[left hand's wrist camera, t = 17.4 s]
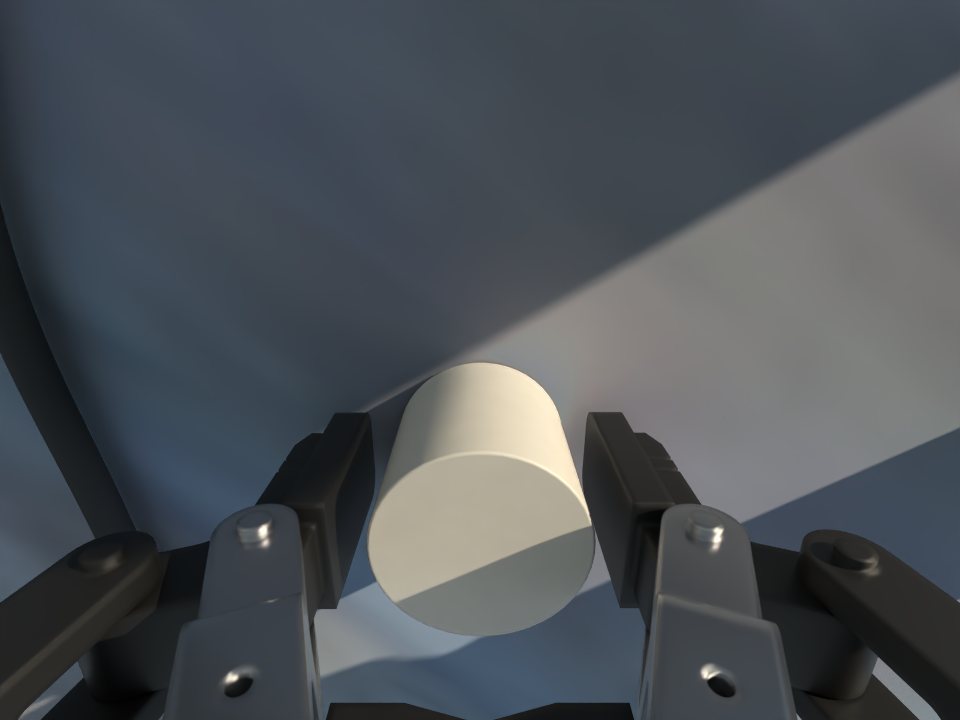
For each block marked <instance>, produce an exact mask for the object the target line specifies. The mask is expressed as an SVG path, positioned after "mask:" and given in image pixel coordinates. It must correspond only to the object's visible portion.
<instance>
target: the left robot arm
mask: <svg viewBox="0 0 960 720" xmlns="http://www.w3.org/2000/svg"><path fill="white" fill-rule="evenodd" d="M0 353H1V355H2V357H3V359H4V362H5V364H6V366H7V368H8V370H9V372H10V374H11V376H12V378H13V380H14V382H15V384H16V386H17V388H18V390H19V392H20V394H21V396H22V398H23V400H24V402H25V404H26V406H27V408H28V410H29V412H30V414H31V416H32V417H33V419H34V421H35V423H36V425H37V427H38V429H39V431H40V433H41V435H42V436H43V438H44V440H45V442H46V444H47V446H48V448H49V450H50V452H51V453H52V455H53V457H54V459H55V461H56V463H57V465H58V467H59V468H60V470H61V472H62V474H63V476H64V478H65V480H66V482H67V484H68V486H69V487H70V489H71V491H72V493H73V495H74V497H75V499H76V501H77V503H78V505H79V507H80V509H81V511H82V513H83V515H84V517H85V519H86V521H87V523H88V525H89V527H90V529H91V531H92V533H93V535H94V537H95V539H94V540H92V541H90V542H88V543H86V544H84V545H82V546H80V547H78V548H76V549H75V550H73V551H72V552H70V553H69V554H67V555H66V556H65V557H63V558H62V559H60V560H59V561H58V562H56V563H55V564H53V565H52V566H51V567H49V568H48V569H47V570H45V571H44V572H42V573H41V574H40V575H38V576H37V577H35V578H34V579H33V580H31V581H30V582H28V583H27V584H26V585H24V586H23V587H22V588H20V589H19V590H17V591H16V592H15V593H13V594H12V595H10V596H9V597H8V598H6V599H5V600H4V601H2V602H1V603H0V720H18V718H19V717H20V716H21V715H22V713H23V712H24V711H25V710H26V709H27V708H28V707H29V706H30V705H31V704H32V703H33V702H34V701H35V700H36V699H37V698H38V697H39V696H40V695H41V694H42V693H44V692H45V691H46V690H47V689H48V688H49V687H50V686H51V685H52V684H53V683H54V682H55V681H56V680H57V679H58V678H60V677H61V676H62V675H63V674H64V673H65V672H66V671H67V670H68V669H69V668H70V667H71V666H72V665H73V664H74V663H76V662H77V661H78V663H79V666H80V668H81V671H82V674H83V676H84V678H83V679H82V680H81V681H80V682H79V683H78V684H77V685H76V686H75V687H74V688H73V689H71V690H70V691H69V692H68V693H67V694H66V695H65V696H64V697H63V698H62V699H61V700H60V701H59V702H58V703H57V704H56V705H55V706H54V707H53V708H52V709H51V710H50V711H49V712H48V713H47V714H46V715H45V716H44V717H43V718H42V719H41V720H158V719H159V718H160V717H161V716H162V714H163V713H164V715H163V720H324V712H323V701H322V691H321V680H320V670H319V660H318V649H317V639H316V631H315V625H314V616H315V614H316V611H317V609H337V605H338V602H339V599H340V596H341V593H342V590H343V587H344V584H345V581H346V578H347V575H348V572H349V569H350V566H351V563H352V559H353V556H354V553H355V550H356V547H357V544H358V541H359V538H360V535H361V532H362V529H363V526H364V523H365V520H366V517H367V513H368V510H369V507H370V504H371V501H372V498H373V494H374V487H375V465H374V453H373V441H372V430H371V420H370V416H369V414H368V413H335V414H334V416H333V418H332V419H331V421H330V423H329V424H328V426H327V428H326V429H325V431H324V433H312V434H310V435H309V436H307V437H306V438H304V439H303V440H302V441H300V442H299V443H297V444H296V445H295V446H294V447H293V449H292V450H291V452H290V453H289V455H288V456H287V458H286V461H284V462H283V464H282V465H281V467H280V468H279V472H277V473H276V474H275V476H274V477H273V479H272V480H271V482H270V483H269V485H268V486H267V488H266V489H265V491H264V492H263V494H262V495H261V497H260V498H259V500H258V501H257V503H256V504H255V506H252V507H248V508H245V509H242V510H240V511H238V512H236V513H234V514H232V515H230V516H229V517H227V518H226V519H224V520H223V521H222V522H221V523H220V524H219V525H218V526H217V527H216V528H215V530H214V531H213V533H212V536H211V539H210V541H208V542H205V543H201V544H197V545H193V546H189V547H184V548H179V549H174V550H170V551H165V552H160V553H158V550H157V546H156V543H155V540H154V538H153V537H152V536H151V535H149V534H147V533H144V532H139V531H136V529H135V527H134V524H133V522H132V520H131V518H130V516H129V514H128V511H127V509H126V507H125V505H124V503H123V500H122V498H121V496H120V494H119V492H118V490H117V488H116V486H115V484H114V482H113V480H112V477H111V475H110V473H109V471H108V469H107V467H106V465H105V463H104V461H103V459H102V457H101V455H100V453H99V451H98V449H97V447H96V445H95V443H94V441H93V439H92V437H91V435H90V433H89V431H88V428H87V426H86V424H85V422H84V420H83V418H82V416H81V414H80V412H79V410H78V408H77V406H76V404H75V402H74V400H73V398H72V396H71V393H70V391H69V389H68V387H67V385H66V383H65V381H64V379H63V376H62V374H61V372H60V370H59V368H58V365H57V363H56V361H55V359H54V356H53V354H52V352H51V350H50V347H49V345H48V343H47V340H46V338H45V335H44V333H43V331H42V328H41V326H40V323H39V321H38V318H37V316H36V313H35V311H34V308H33V305H32V303H31V300H30V297H29V295H28V292H27V289H26V286H25V283H24V281H23V278H22V275H21V272H20V269H19V266H18V263H17V260H16V257H15V254H14V250H13V247H12V244H11V240H10V237H9V234H8V230H7V227H6V224H5V220H4V216H3V212H2V208H1V205H0ZM582 479H583V490H584V496H585V499H586V502H587V506H588V509H589V512H590V515H591V518H592V521H593V524H594V528H595V531H596V534H597V537H598V540H599V543H600V546H601V549H602V553H603V556H604V559H605V562H606V565H607V568H608V571H609V575H610V578H611V581H612V584H613V587H614V590H615V593H616V597H617V600H618V603H619V606H620V608H639V609H640V612H641V615H642V618H643V620H644V623H645V631H644V639H643V649H642V660H641V670H640V680H639V691H638V701H637V712H636V720H797V715H796V713H797V714H798V716H799V717H800V718H801V719H802V720H919V719H918V718H917V717H916V716H915V715H914V714H913V713H912V712H911V711H910V710H909V709H908V708H907V707H906V706H905V705H904V704H903V703H902V702H901V701H900V700H899V699H898V698H897V697H896V696H895V695H894V694H893V693H892V692H891V691H890V690H888V689H887V688H886V687H885V686H884V685H883V684H882V683H881V682H880V681H879V680H878V679H877V678H876V677H875V676H874V675H873V674H872V672H873V669H874V667H875V664H876V661H877V659H878V657H879V658H880V659H881V660H882V661H883V662H884V663H885V664H887V665H888V666H889V667H890V668H891V669H892V670H893V671H894V672H895V673H896V674H897V675H898V676H899V677H900V678H901V679H903V680H904V681H905V682H906V683H907V684H908V685H909V686H910V687H911V688H912V689H913V690H914V691H915V692H916V693H917V694H919V695H920V696H921V697H922V698H923V699H924V700H925V701H926V702H927V703H928V704H929V705H930V706H931V707H932V708H933V709H934V711H935V712H936V713H937V714H938V716H939V717H940V719H941V720H960V603H959V602H958V601H956V600H955V599H954V598H952V597H951V596H950V595H948V594H947V593H945V592H944V591H943V590H941V589H940V588H938V587H937V586H936V585H934V584H933V583H932V582H930V581H929V580H927V579H926V578H925V577H923V576H922V575H920V574H919V573H918V572H916V571H915V570H913V569H912V568H911V567H909V566H908V565H907V564H905V563H904V562H902V561H901V560H900V559H898V558H897V557H895V556H894V555H893V554H891V553H890V552H888V551H887V550H885V549H884V548H882V547H881V546H879V545H877V544H875V543H873V542H871V541H869V540H867V539H865V538H862V537H860V536H857V535H854V534H850V533H847V532H842V531H837V530H816V531H813V532H810V533H808V534H807V535H806V536H805V537H804V539H803V542H802V545H801V549H800V552H795V551H790V550H786V549H781V548H776V547H772V546H767V545H762V544H758V543H754V542H751V541H750V539H749V536H748V533H747V531H746V530H745V528H744V527H743V526H742V525H741V524H740V523H739V522H738V521H737V520H736V519H734V518H733V517H731V516H730V515H728V514H726V513H724V512H722V511H720V510H718V509H715V508H712V507H708V506H704V505H701V503H700V502H699V500H698V499H697V497H696V496H695V494H694V493H693V491H692V489H691V488H690V486H689V485H688V483H687V482H686V480H685V479H684V477H683V476H682V474H681V473H680V472H678V468H677V467H676V465H675V464H674V462H673V461H672V460H671V459H670V456H669V455H668V453H667V452H666V450H665V448H664V447H663V445H662V444H661V443H659V442H658V441H656V440H655V439H653V438H652V437H650V436H649V435H648V434H646V433H634V432H633V431H632V429H631V427H630V425H629V424H628V422H627V420H626V418H625V417H624V415H623V414H622V413H621V412H590V413H589V414H588V417H587V423H586V434H585V446H584V458H583V471H582ZM326 720H465V719H461V718H457V717H454V716H450V715H446V714H443V713H439V712H435V711H432V710H428V709H424V708H421V707H417V706H414V705H410V704H406V703H330V707H329V710H328V714H327V718H326ZM495 720H634V718H633V714H632V710H631V707H630V703H554V704H550V705H546V706H543V707H539V708H536V709H532V710H528V711H525V712H521V713H517V714H514V715H510V716H506V717H503V718H499V719H495Z"/></svg>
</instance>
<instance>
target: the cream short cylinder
mask: <svg viewBox="0 0 960 720" xmlns="http://www.w3.org/2000/svg"><path fill="white" fill-rule="evenodd" d="M367 553H368V559H369V563H370V566H371V570H372V572H373V575H374V577H375V579H376V581H377V583H378V584H379V586H380V587H381V589H382V590H383V592H384V593H385V594H386V595H387V597H388V598H389V599H390V600H391V601H392V602H393V603H394V604H395V605H396V606H397V607H398V608H400V609H401V610H402V611H403V612H405V613H406V614H408V615H409V616H411V617H412V618H414V619H416V620H418V621H419V622H421V623H423V624H425V625H428V626H430V627H433V628H435V629H439V630H442V631H446V632H449V633H454V634H460V635H469V636H494V635H502V634H508V633H512V632H517V631H520V630H523V629H526V628H529V627H532V626H534V625H536V624H538V623H541V622H543V621H544V620H546V619H548V618H550V617H551V616H553V615H554V614H556V613H557V612H558V611H560V610H561V609H562V608H564V607H565V606H566V605H567V604H568V603H569V602H570V601H571V600H572V599H573V598H574V597H575V595H576V594H577V593H578V592H579V590H580V589H581V588H582V586H583V584H584V582H585V581H586V579H587V577H588V574H589V572H590V570H591V567H592V563H593V559H594V555H595V531H594V526H593V523H592V519H591V515H590V512H589V509H588V506H587V503H586V500H585V497H584V493H583V490H582V487H581V484H580V481H579V478H578V475H577V471H576V468H575V465H574V462H573V459H572V456H571V453H570V449H569V446H568V443H567V440H566V437H565V434H564V431H563V427H562V424H561V421H560V418H559V415H558V412H557V410H556V407H555V405H554V403H553V402H552V400H551V398H550V397H549V395H548V394H547V393H546V392H545V390H544V389H543V388H542V387H541V386H540V385H539V384H537V383H536V382H535V381H534V380H533V379H531V378H530V377H528V376H527V375H525V374H523V373H521V372H519V371H517V370H515V369H512V368H509V367H507V366H502V365H498V364H491V363H470V364H463V365H459V366H456V367H452V368H449V369H447V370H445V371H442V372H440V373H438V374H437V375H435V376H433V377H432V378H430V379H429V380H428V381H426V382H425V383H424V384H423V385H422V386H421V387H420V388H419V389H418V390H417V391H416V392H415V394H414V395H413V396H412V398H411V399H410V401H409V403H408V404H407V406H406V408H405V411H404V414H403V416H402V420H401V423H400V426H399V429H398V432H397V436H396V439H395V442H394V445H393V448H392V452H391V455H390V458H389V461H388V464H387V468H386V471H385V474H384V477H383V480H382V484H381V487H380V490H379V493H378V496H377V500H376V503H375V506H374V509H373V512H372V516H371V519H370V522H369V527H368V532H367Z"/></svg>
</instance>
